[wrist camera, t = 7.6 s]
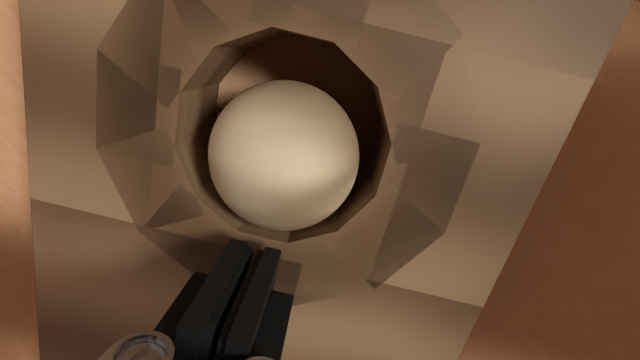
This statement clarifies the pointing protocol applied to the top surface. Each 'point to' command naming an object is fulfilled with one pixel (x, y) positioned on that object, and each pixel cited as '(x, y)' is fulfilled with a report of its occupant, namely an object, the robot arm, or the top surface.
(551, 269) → the top surface
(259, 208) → the ball
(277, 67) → the top surface
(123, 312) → the board
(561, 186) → the top surface
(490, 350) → the top surface
